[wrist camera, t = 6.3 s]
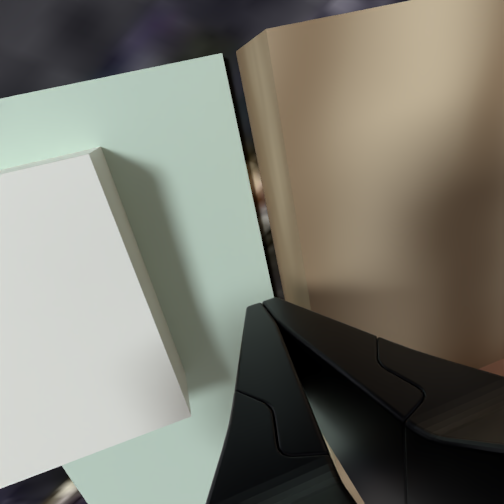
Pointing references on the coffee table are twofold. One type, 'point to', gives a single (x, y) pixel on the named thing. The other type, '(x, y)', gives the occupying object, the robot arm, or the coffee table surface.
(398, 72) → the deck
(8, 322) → the white rectangular block
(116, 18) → the coffee table surface
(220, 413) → the mat
